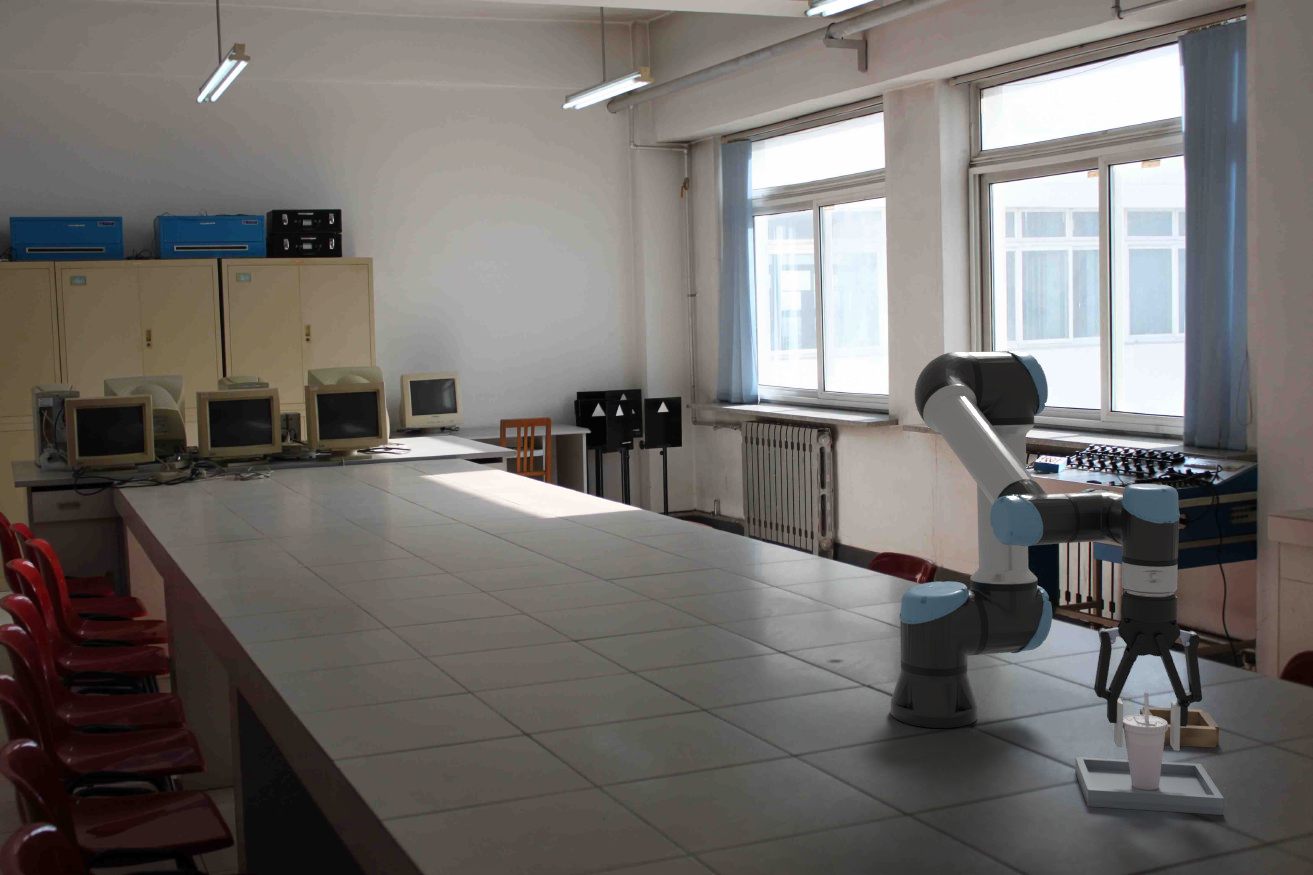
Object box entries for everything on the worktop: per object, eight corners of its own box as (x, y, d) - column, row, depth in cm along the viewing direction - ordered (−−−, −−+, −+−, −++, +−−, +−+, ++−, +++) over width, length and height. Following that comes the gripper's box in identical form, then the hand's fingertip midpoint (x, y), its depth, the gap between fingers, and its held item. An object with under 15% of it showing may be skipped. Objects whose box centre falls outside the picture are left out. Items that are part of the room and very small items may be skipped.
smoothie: (1140, 795, 172) (1139, 699, 171) (1112, 780, 178) (1111, 688, 177) (1178, 789, 173) (1177, 694, 172) (1149, 775, 179) (1148, 683, 178)
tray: (1087, 805, 171) (1087, 789, 170) (1075, 771, 184) (1075, 756, 184) (1223, 814, 167) (1223, 798, 167) (1200, 779, 180) (1200, 763, 180)
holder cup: (1149, 743, 197) (1150, 725, 196) (1138, 723, 207) (1138, 706, 207) (1220, 747, 194) (1221, 729, 194) (1205, 726, 205) (1205, 709, 205)
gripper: (1080, 594, 172) (1077, 750, 173) (1230, 598, 167) (1226, 758, 169) (1073, 584, 179) (1071, 733, 181) (1217, 588, 175) (1213, 741, 177)
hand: (1146, 745), depth 175 cm, fingers open, 7 cm apart
